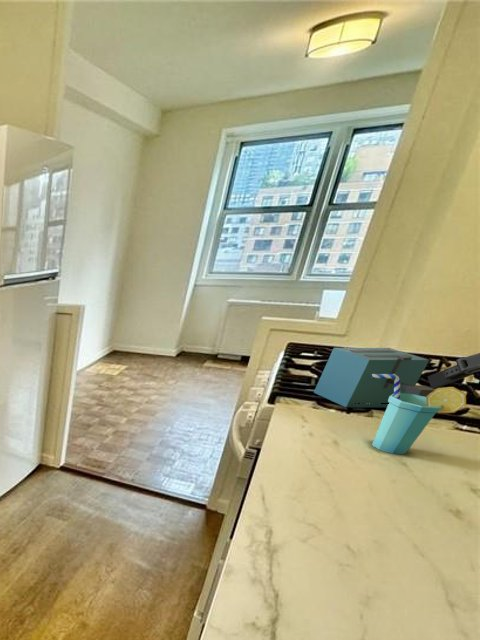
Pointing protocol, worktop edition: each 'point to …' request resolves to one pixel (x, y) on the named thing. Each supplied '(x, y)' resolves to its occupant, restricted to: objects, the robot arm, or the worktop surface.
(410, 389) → the toaster lever
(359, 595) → the worktop surface
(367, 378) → the toaster
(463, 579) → the worktop surface
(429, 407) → the cup
